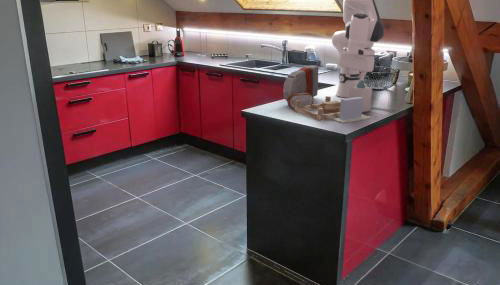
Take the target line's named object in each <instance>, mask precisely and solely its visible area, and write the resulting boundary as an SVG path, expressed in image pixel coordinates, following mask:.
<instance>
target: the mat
mask: <svg viewBox="0 0 500 285" xmlns="http://www.w3.org/2000/svg"><path fill="white" fill-rule="evenodd" d="M370 119H372V118H371V116H368V115H365V114H362V117H361V118H355V119H348V120H341V119H339V118H333V119H332V120H333V121H335V122H337V123H340V122H341V123H340V124H346V123H351V122H357V121H364V120H370Z"/></svg>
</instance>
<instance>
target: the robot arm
mask: <svg viewBox="0 0 500 285" xmlns="http://www.w3.org/2000/svg"><path fill="white" fill-rule="evenodd" d="M342 4H343V6H342V10H343V11H342V13H343V14H342V16H343V17H342V20H343V22H344V24H345V25H344V27H345V30H339V31H338V30H337V31H336V32H334V33H333V35H332V37H331V44H332V45H333V47H334V48H335V49H336V51H337V52H338V54H339V57H340V58H339V61H338V62H339V63H338V64H339V66H340V72H339V75H338V76H339V78H338V79H339V81H338V84H337V85H338V86H337V89H336V90H337V91H336V94H335V95H336V96H337V97H340V98H344V99H346V98H349V87H350V86H355V85H357V84H358V83H359V81H360V80H363V81H365V78H364V77H365V76H367V73H372V72H373V71H374V68H375V57H374V56H375V54H376V51H375V50H374V49H373V48H372V47H374V44H375V43H377V42H379V41H380V40H381V39H383V38H384V35H385V26H384V24H383V22H382V20H381V17H380V13H379V11H378V6H377V4H376V2H375V0H343V3H342ZM363 12H364V13H363ZM360 72H361V73H360ZM359 75H361V76H359ZM364 84H365V86H368V85H367V84H366V83H365V82H364Z"/></svg>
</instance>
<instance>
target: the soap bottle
mask: <svg viewBox="0 0 500 285" xmlns="http://www.w3.org/2000/svg"><path fill="white" fill-rule="evenodd" d="M359 76H361V75H359ZM365 78H367V79H369V78H370V76H369V75H365V77H364V79H365ZM364 83H365V82H364V80H360V81H359V83H358V84H357V85H355V86H350V87H349V98H354V97H362V98H363V107H362V113H365V112H369V111H370V110H371V106H372V105H371V103H372V96H373V87H372V86H368V85H367V86H365V84H366V83H365V84H364Z"/></svg>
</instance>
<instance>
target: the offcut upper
mask: <svg viewBox="0 0 500 285" xmlns="http://www.w3.org/2000/svg"><path fill="white" fill-rule="evenodd" d="M340 105H341V101H338V100H333V101H332V100H331V101H330V102H325V101H324V102H322V108H323V109H326V110H329V109H337V108H340Z"/></svg>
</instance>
